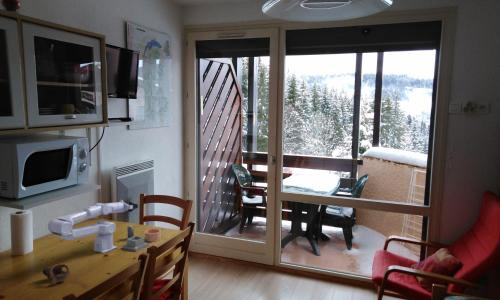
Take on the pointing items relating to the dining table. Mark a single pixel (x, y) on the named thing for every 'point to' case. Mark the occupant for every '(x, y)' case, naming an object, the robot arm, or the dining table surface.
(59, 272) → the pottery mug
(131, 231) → the battery cell
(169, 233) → the dining table surface
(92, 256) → the dining table surface
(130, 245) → the checker housing
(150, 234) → the cup
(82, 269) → the dining table surface
